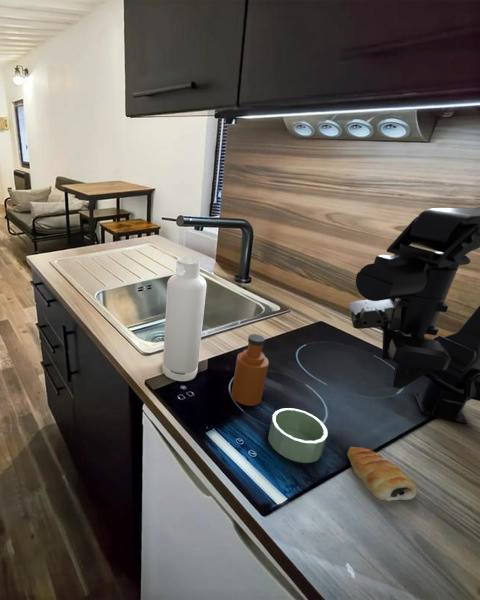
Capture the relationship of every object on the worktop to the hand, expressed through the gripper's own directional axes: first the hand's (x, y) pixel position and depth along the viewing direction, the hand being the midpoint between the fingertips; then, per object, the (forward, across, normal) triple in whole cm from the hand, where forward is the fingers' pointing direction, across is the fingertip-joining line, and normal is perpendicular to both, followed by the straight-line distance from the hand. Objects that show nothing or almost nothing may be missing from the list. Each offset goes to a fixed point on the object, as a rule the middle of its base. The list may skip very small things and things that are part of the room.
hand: (391, 372), depth 64 cm
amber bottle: (+12, +2, -22) cm, 25 cm away
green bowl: (+12, +12, -13) cm, 21 cm away
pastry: (+12, +14, -1) cm, 19 cm away
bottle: (+12, -2, -37) cm, 39 cm away
